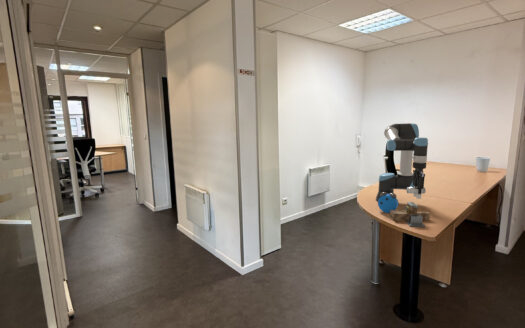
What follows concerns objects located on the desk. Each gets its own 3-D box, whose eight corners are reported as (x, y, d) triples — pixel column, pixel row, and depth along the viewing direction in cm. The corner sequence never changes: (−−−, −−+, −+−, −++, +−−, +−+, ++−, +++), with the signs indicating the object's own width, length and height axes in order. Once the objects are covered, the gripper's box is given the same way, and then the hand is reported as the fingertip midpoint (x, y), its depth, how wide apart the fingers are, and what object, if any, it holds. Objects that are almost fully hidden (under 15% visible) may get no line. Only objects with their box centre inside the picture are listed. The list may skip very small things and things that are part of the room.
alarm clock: (398, 212, 207) (399, 193, 205) (395, 214, 203) (396, 194, 200) (379, 209, 216) (380, 190, 213) (377, 211, 211) (378, 192, 209)
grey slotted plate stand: (405, 222, 189) (406, 213, 188) (420, 222, 187) (420, 213, 186) (410, 226, 181) (410, 217, 180) (425, 227, 179) (425, 218, 178)
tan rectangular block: (406, 212, 191) (406, 207, 191) (404, 211, 195) (405, 205, 194) (414, 213, 191) (414, 207, 190) (412, 211, 194) (412, 205, 193)
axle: (408, 194, 180) (408, 188, 179) (406, 192, 183) (406, 186, 183) (425, 194, 178) (425, 188, 177) (422, 192, 182) (423, 186, 181)
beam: (393, 220, 192) (394, 205, 190) (389, 216, 199) (390, 201, 198) (431, 221, 188) (432, 206, 186) (426, 217, 196) (427, 202, 194)
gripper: (408, 159, 186) (406, 193, 190) (418, 164, 169) (415, 201, 173) (420, 159, 185) (418, 194, 189) (431, 164, 168) (429, 201, 172)
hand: (417, 197), depth 181 cm, fingers closed on axle, 4 cm apart
